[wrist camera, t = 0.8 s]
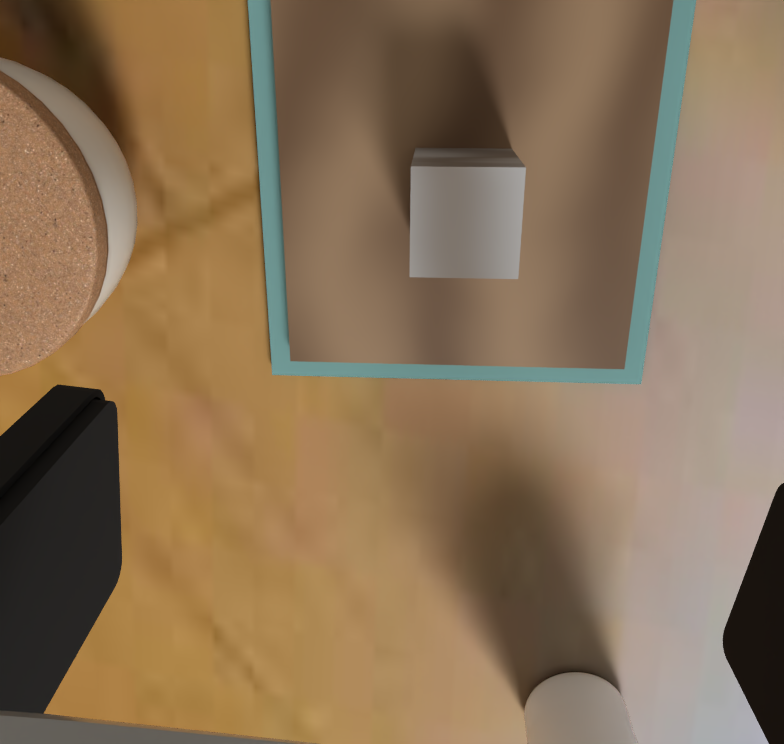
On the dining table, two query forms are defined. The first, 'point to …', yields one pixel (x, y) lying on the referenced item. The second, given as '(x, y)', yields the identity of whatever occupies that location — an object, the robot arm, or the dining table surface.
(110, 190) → the lidded jar
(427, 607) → the dining table surface
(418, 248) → the walnut cover
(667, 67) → the teal mat
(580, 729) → the drinking glass
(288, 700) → the dining table surface
